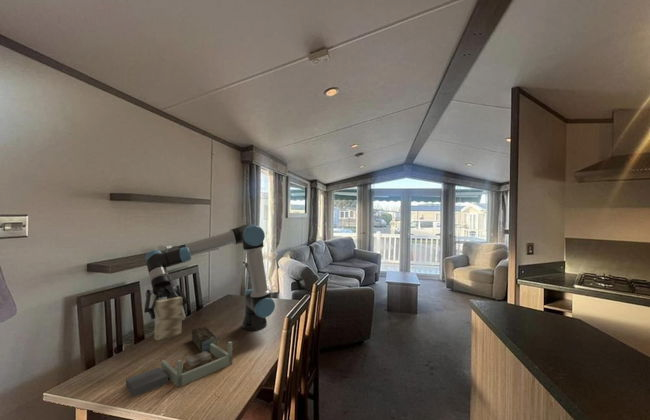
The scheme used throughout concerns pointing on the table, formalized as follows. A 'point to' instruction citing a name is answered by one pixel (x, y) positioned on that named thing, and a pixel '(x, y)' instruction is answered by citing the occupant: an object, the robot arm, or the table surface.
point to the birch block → (169, 317)
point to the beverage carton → (203, 338)
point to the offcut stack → (196, 361)
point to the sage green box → (201, 371)
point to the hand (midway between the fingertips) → (171, 321)
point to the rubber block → (146, 381)
